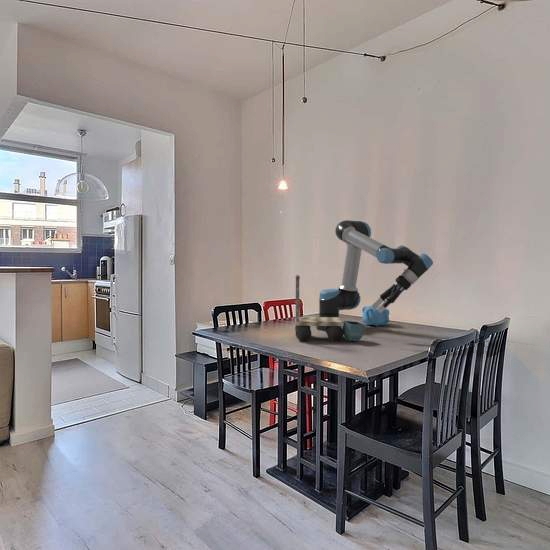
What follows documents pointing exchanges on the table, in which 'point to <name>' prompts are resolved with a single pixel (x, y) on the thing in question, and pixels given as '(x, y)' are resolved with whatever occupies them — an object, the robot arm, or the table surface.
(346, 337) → the flower pot
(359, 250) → the robot arm
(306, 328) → the trolley
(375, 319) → the decorative pot
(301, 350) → the table surface
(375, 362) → the table surface
